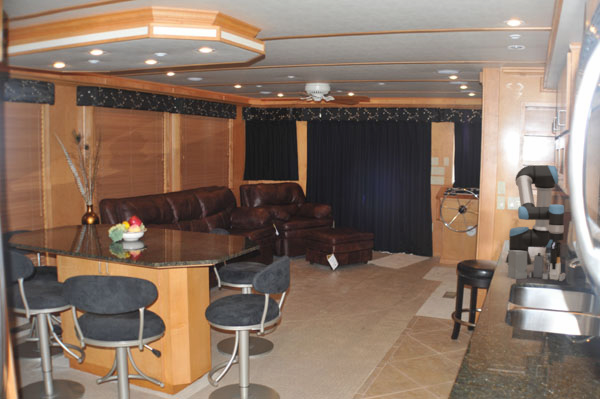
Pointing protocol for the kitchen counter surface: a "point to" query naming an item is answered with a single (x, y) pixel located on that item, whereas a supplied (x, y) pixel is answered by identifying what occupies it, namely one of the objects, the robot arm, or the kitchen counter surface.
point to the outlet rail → (547, 276)
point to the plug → (557, 270)
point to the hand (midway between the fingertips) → (555, 274)
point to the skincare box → (517, 264)
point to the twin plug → (538, 265)
